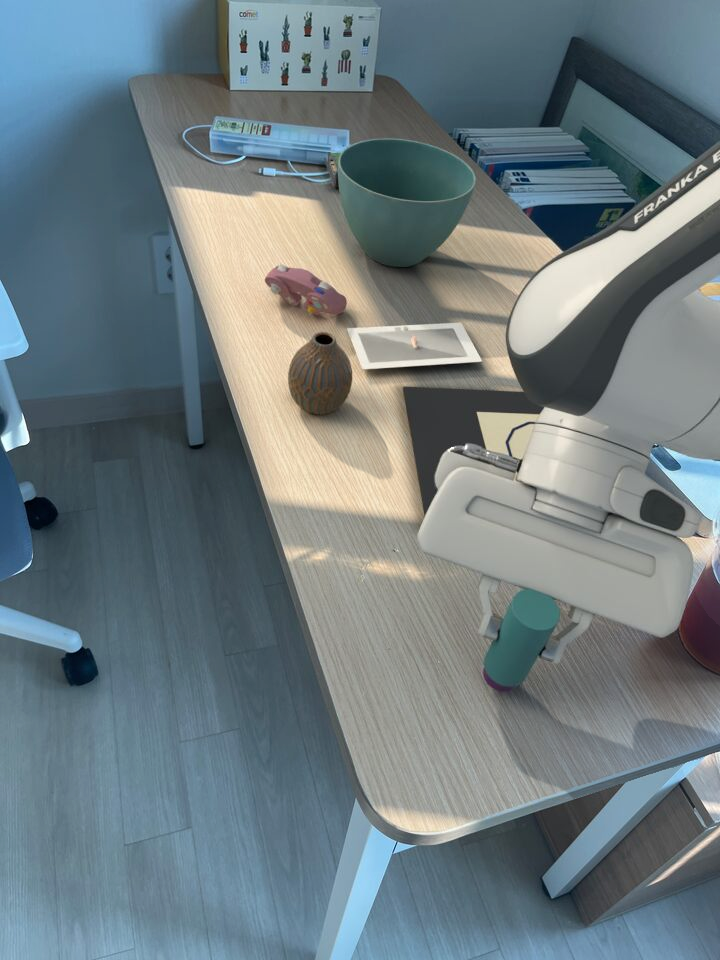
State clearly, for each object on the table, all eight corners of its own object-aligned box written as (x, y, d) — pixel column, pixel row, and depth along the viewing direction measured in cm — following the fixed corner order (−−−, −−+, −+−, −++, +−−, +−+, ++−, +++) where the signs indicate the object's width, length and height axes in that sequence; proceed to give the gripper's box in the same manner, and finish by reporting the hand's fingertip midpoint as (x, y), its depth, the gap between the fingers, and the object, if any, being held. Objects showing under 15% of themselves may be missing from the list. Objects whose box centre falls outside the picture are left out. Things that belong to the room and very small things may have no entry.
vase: (277, 412, 82) (280, 348, 76) (299, 375, 87) (304, 311, 80) (337, 431, 81) (345, 367, 75) (356, 392, 86) (365, 329, 80)
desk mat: (599, 397, 91) (600, 394, 90) (654, 527, 77) (657, 524, 77) (402, 388, 87) (403, 385, 87) (425, 522, 74) (426, 519, 74)
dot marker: (516, 655, 64) (553, 588, 57) (526, 695, 62) (565, 630, 54) (475, 656, 63) (507, 588, 56) (483, 695, 61) (517, 630, 54)
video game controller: (268, 306, 98) (255, 274, 91) (285, 278, 99) (274, 245, 92) (334, 334, 95) (326, 304, 89) (351, 305, 97) (344, 273, 90)
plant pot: (304, 235, 108) (311, 150, 99) (402, 209, 117) (415, 128, 108) (383, 301, 99) (397, 214, 90) (481, 267, 108) (504, 185, 99)
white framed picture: (480, 368, 92) (484, 354, 90) (361, 376, 88) (363, 361, 86) (459, 329, 97) (462, 315, 95) (345, 335, 93) (347, 321, 91)
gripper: (446, 432, 56) (385, 607, 57) (723, 524, 53) (656, 708, 54) (449, 437, 62) (394, 595, 63) (697, 520, 59) (637, 685, 60)
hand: (517, 648), depth 58 cm, fingers closed on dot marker, 3 cm apart
